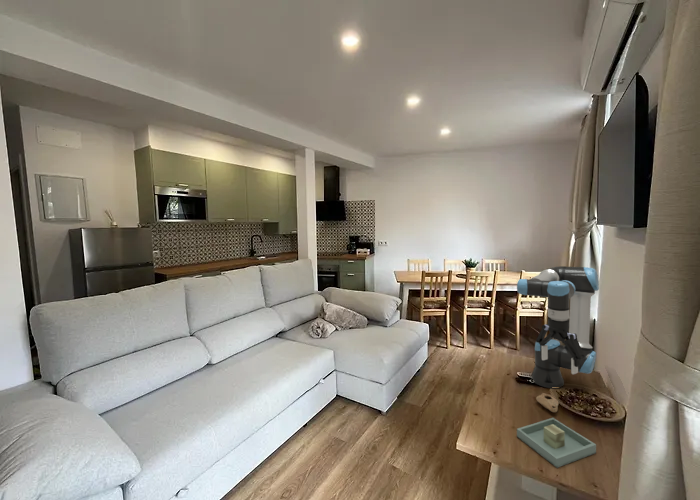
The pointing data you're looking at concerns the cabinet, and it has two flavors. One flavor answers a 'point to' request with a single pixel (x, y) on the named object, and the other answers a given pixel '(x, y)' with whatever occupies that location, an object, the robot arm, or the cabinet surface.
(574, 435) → the bin
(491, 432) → the cabinet surface
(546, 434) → the olive block
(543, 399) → the pottery oil lamp
